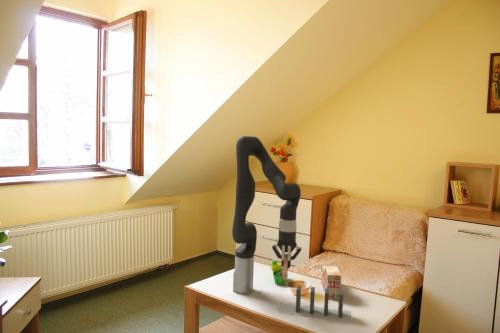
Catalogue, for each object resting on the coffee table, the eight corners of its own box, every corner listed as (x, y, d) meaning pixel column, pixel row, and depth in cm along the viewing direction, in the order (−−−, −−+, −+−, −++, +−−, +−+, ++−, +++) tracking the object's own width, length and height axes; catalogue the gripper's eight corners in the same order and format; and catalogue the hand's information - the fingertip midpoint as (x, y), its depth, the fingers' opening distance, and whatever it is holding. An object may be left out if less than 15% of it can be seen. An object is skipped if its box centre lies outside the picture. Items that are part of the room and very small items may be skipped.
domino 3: (309, 313, 168) (310, 291, 167) (310, 308, 173) (311, 286, 172) (313, 314, 167) (314, 291, 167) (313, 309, 172) (314, 287, 171)
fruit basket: (287, 285, 199) (288, 264, 198) (270, 285, 200) (271, 263, 199) (286, 277, 211) (287, 257, 210) (269, 276, 211) (270, 256, 210)
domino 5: (338, 317, 165) (339, 294, 164) (338, 312, 170) (339, 290, 169) (342, 317, 165) (343, 295, 164) (341, 312, 170) (343, 290, 169)
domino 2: (295, 312, 169) (296, 289, 168) (296, 307, 174) (297, 285, 173) (299, 312, 169) (300, 290, 168) (300, 307, 173) (301, 285, 173)
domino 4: (323, 315, 166) (324, 292, 166) (324, 310, 171) (325, 288, 171) (327, 316, 166) (328, 293, 165) (327, 311, 171) (328, 288, 170)
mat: (277, 313, 168) (277, 312, 168) (280, 303, 178) (280, 302, 178) (351, 322, 162) (351, 321, 162) (350, 311, 171) (350, 311, 171)
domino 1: (282, 272, 165) (285, 253, 172) (282, 279, 168) (285, 260, 176) (286, 273, 165) (288, 254, 172) (286, 280, 168) (289, 260, 175)
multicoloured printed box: (320, 282, 205) (321, 259, 204) (332, 283, 205) (334, 260, 204) (326, 299, 184) (328, 274, 183) (340, 300, 183) (341, 275, 182)
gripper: (270, 230, 167) (269, 269, 169) (302, 232, 164) (300, 272, 166) (273, 226, 175) (271, 263, 176) (303, 228, 172) (302, 266, 173)
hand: (286, 268), depth 171 cm, fingers closed on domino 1, 1 cm apart
